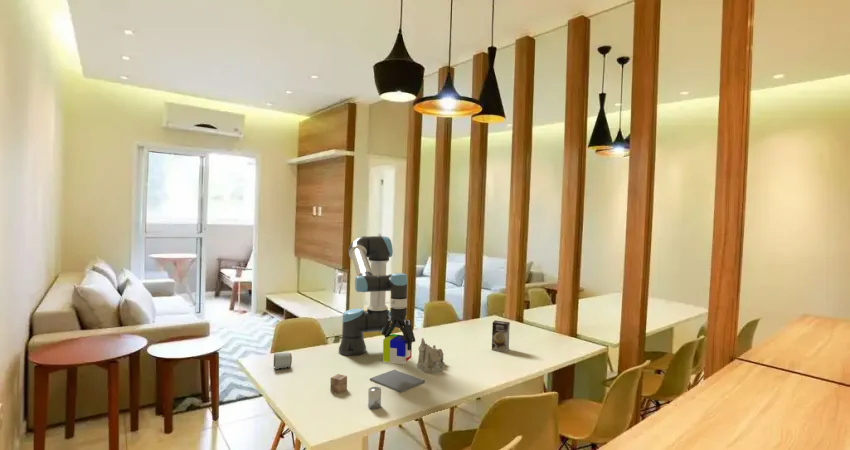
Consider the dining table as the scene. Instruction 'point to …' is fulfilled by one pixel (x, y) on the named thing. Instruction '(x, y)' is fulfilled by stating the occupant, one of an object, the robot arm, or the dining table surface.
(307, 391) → the dining table surface
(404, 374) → the charcoal mat
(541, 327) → the dining table surface
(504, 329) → the coffee box
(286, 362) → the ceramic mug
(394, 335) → the puzzle toy
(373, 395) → the grey metal cylinder
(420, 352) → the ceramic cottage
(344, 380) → the walnut block
